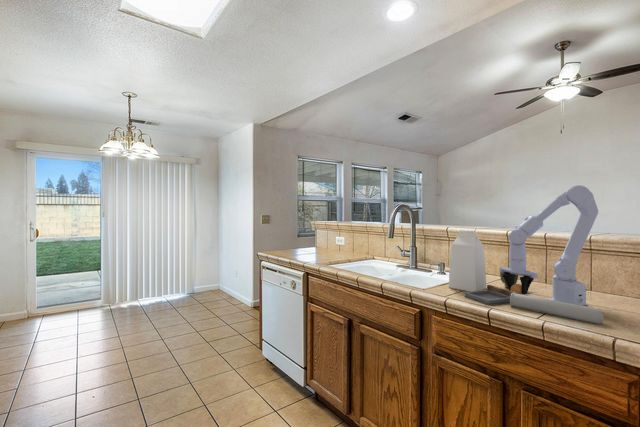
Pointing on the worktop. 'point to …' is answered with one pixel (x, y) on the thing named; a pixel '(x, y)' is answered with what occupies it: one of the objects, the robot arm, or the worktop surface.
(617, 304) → the worktop surface
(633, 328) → the worktop surface
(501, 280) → the cup
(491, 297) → the tray
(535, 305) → the tube
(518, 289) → the egg
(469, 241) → the milk
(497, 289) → the fence
